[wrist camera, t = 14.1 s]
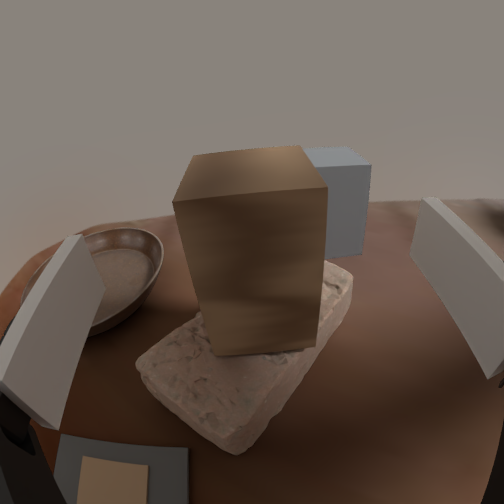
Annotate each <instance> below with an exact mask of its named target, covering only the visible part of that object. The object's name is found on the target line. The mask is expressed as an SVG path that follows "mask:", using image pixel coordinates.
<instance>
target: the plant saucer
mask: <svg viewBox="0 0 504 504" xmlns="http://www.w3.org/2000/svg"><path fill="white" fill-rule="evenodd" d="M84 240H85V242H86V245H87V247H88V249H89V252H90V254H91V256H92V259H93V261H94V263H95V265H96V268H97V270H98V272H99V274H100V277H101V279H102V281H103V283H104V285H105V287H106V290H105V292H104V295H103V297H102V299H101V302H100V304H99V307H98V309H97V312H96V314H95V317H94V320H93V322H92V325H91V327H90V330H89V333H88V336H87V337H89V336H93V335H96V334H99V333H102V332H104V331H106V330H109V329H111V328H112V327H114V326H116V325H118V324H119V323H121V322H122V321H124V320H125V319H126V318H128V317H129V316H130V315H131V314H132V313H133V312H135V311H136V310H137V309H138V308H139V307H140V305H141V304H142V303H143V302H144V301H145V299H146V298H147V296H148V295H149V293H150V292H151V290H152V288H153V286H154V284H155V282H156V280H157V277H158V275H159V272H160V269H161V266H162V262H163V256H164V250H163V246H162V243H161V241H160V240H159V239H158V237H157V236H155V235H154V234H153V233H151V232H149V231H146V230H143V229H138V228H114V229H108V230H104V231H100V232H96V233H93V234H90V235H88V236H85V237H84ZM53 256H54V254H53V255H52V256H51V257H50V258H48V259H47V260H46V261H45V262H44V263H43V264H42V265H41V266H40V267H39V268H38V269H37V270H36V271H35V273H34V274H33V275H32V277H31V278H30V280H29V281H28V283H27V285H26V287H25V289H24V291H23V294H22V298H21V306H22V304H23V303H24V301H25V299H26V298H27V296H28V294H29V293H30V291H31V289H32V288H33V286H34V285H35V283H36V281H37V280H38V278H39V277H40V275H41V274H42V272H43V271H44V269H45V268H46V266H47V265H48V263H49V262H50V260H51V259H52V257H53Z"/></svg>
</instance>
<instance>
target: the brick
mask: <svg viewBox="0 0 504 504" xmlns="http://www.w3.org/2000/svg"><path fill="white" fill-rule="evenodd" d="M352 282H353V276H352V275H351V274H350V273H349V272H347V271H346V270H344V269H343V268H340V267H338V266H337V265H335V264H332V263H329V262H327V261H326V260H324V272H323V284H322V295H321V305H320V315H319V324H318V333H317V341H316V347H312V348H304V349H295V350H286V351H277V352H266V353H255V354H241V355H226V356H215V355H214V352H213V349H212V346H211V343H210V340H209V336H208V333H207V330H206V327H205V323H204V320H203V317H202V313H201V310H200V312H198V313H197V314H196V316H195V318H194V319H191V320H190V321H188V322H186V323H185V324H183V325H182V326H181V327H178V328H176V329H175V330H173V331H172V332H171V333H170V334H168V335H167V336H165V337H164V338H163V339H162V340H161V341H159V342H158V343H157V344H155V345H154V346H153V347H151V348H150V349H149V350H148V351H147V352H145V353H144V354H143V355H141V356H140V357H139V358H138V360H137V361H136V368H137V370H138V371H139V372H140V373H141V379H142V381H143V383H144V384H145V385H146V387H147V389H148V390H149V391H150V393H151V394H152V395H153V396H154V397H155V398H156V399H158V400H159V401H160V402H161V403H162V404H163V405H164V406H165V407H166V408H167V409H169V410H170V411H171V412H173V413H174V414H176V415H177V416H178V417H179V418H180V419H181V420H183V421H184V422H185V423H187V424H188V425H189V426H190V427H191V428H192V429H193V430H195V431H196V432H197V433H199V434H200V435H201V436H203V437H204V438H205V439H207V440H209V441H211V442H212V443H214V444H216V445H217V446H218V447H219V448H221V449H222V450H224V451H227V452H229V453H231V454H233V455H239V454H241V453H243V452H245V451H246V450H247V449H248V448H249V447H251V446H252V445H253V444H254V443H255V441H256V440H257V438H258V437H259V436H260V435H261V433H262V432H263V431H264V430H265V429H266V427H267V425H268V423H269V421H270V419H271V418H272V417H273V416H275V415H277V414H278V413H279V412H280V411H281V410H282V408H283V406H284V405H285V403H286V402H287V400H288V399H289V398H290V396H291V395H292V393H293V392H294V391H295V389H296V388H297V386H298V385H299V384H300V383H301V381H302V380H303V377H304V375H305V374H306V373H307V372H308V371H309V369H310V367H311V366H312V364H313V362H314V361H315V359H316V358H317V356H318V354H319V353H320V351H321V350H322V349H323V348H324V346H325V345H326V343H327V341H328V339H329V337H330V336H331V335H332V334H333V333H334V331H335V330H336V329H337V327H338V326H339V325H340V324H341V322H342V320H343V318H344V316H345V314H346V312H347V310H348V308H349V307H350V303H351V292H352V287H353V283H352Z"/></svg>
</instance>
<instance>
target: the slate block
mask: <svg viewBox="0 0 504 504" xmlns="http://www.w3.org/2000/svg"><path fill="white" fill-rule="evenodd" d="M303 151H304V152H305V154H306V155H307V156H308V158H309V159H310V161H311V162H312V164H313V165H314V167H315V168H316V170H317V171H318V172H319V174H320V175H321V177H322V178H323V180H324V181H325V183H326V185H327V186H328V208H327V228H326V245H325V259H331V258H339V257H346V256H354V255H362V248H363V241H364V234H365V226H366V218H367V209H368V200H369V190H370V178H371V164H370V163H368V162H367V161H366V160H365V159H364V158H362V157H361V156H360V155H358V154H357V153H356V152H355V151H353V150H352V149H351V148H349V147H324V148H305V149H303Z"/></svg>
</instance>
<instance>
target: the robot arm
mask: <svg viewBox="0 0 504 504" xmlns="http://www.w3.org/2000/svg"><path fill="white" fill-rule="evenodd" d="M409 256H410V257H411V258H412V260H413V261H414V262H415V264H416V265H417V266H418V268H419V269H420V271H421V272H422V273H423V275H424V276H425V278H426V279H427V280H428V282H429V283H430V285H431V286H432V288H433V289H434V291H435V292H436V294H437V295H438V297H439V298H440V300H441V301H442V303H443V304H444V306H445V307H446V309H447V310H448V312H449V313H450V315H451V317H452V318H453V320H454V321H455V323H456V325H457V326H458V328H459V329H460V331H461V333H462V334H463V336H464V338H465V340H466V341H467V343H468V345H469V346H470V348H471V350H472V352H473V353H474V355H475V357H476V359H477V361H478V363H479V364H480V366H481V368H482V370H483V372H484V374H485V376H486V378H487V379H489V378H491V377H493V376H495V375H497V374H499V373H501V372H502V371H503V370H504V261H502V260H501V259H500V258H499V257H498V256H497V254H496V253H495V252H494V251H493V250H492V249H491V248H490V247H489V246H488V245H487V244H486V243H485V242H484V241H483V240H482V239H481V238H480V237H479V236H478V235H477V234H476V233H475V232H474V231H473V230H472V229H471V228H470V227H469V226H468V225H467V224H466V223H464V222H463V221H462V220H461V219H460V218H459V217H458V216H457V215H456V214H455V213H454V212H452V211H451V210H450V209H449V208H448V207H447V206H446V205H445V204H443V203H442V202H441V201H440V200H439V199H438V198H436V197H426V198H421V203H420V208H419V213H418V218H417V223H416V228H415V232H414V237H413V241H412V245H411V249H410V253H409ZM105 290H106V287H105V285H104V283H103V281H102V279H101V277H100V274H99V272H98V270H97V268H96V265H95V263H94V261H93V259H92V256H91V254H90V252H89V249H88V247H87V245H86V242H85V240H84V237H83V235H82V234H79V235H73V236H68V237H67V238H66V239H65V240H64V242H63V243H62V244H61V246H60V247H59V249H58V250H57V251H56V253H55V254H54V256H53V257H52V259H51V260H50V262H49V263H48V265H47V266H46V268H45V269H44V271H43V272H42V274H41V275H40V277H39V278H38V280H37V281H36V283H35V285H34V286H33V288H32V289H31V291H30V293H29V294H28V296H27V298H26V299H25V301H24V303H23V304H22V306H21V308H20V310H19V311H18V313H17V315H16V316H15V317H14V318H13V319H12V320H11V322H10V323H9V325H8V327H7V329H6V330H5V332H4V336H2V338H1V340H0V504H67V503H66V501H65V499H64V497H63V495H62V493H61V491H60V489H59V487H58V485H57V483H56V481H55V479H54V477H53V475H52V472H51V470H50V468H49V466H48V463H47V461H46V459H45V456H44V454H43V451H42V449H41V446H40V444H39V441H38V438H37V435H36V433H35V430H34V429H33V427H32V426H31V425H30V424H29V422H30V419H31V418H32V419H33V420H34V421H36V422H37V423H38V424H39V425H41V426H42V427H46V428H50V429H54V430H59V428H60V424H61V420H62V416H63V412H64V408H65V404H66V401H67V397H68V394H69V390H70V387H71V383H72V380H73V377H74V374H75V371H76V368H77V364H78V361H79V358H80V355H81V352H82V350H83V347H84V344H85V341H86V338H87V336H88V333H89V330H90V327H91V325H92V322H93V320H94V317H95V314H96V312H97V309H98V307H99V304H100V302H101V299H102V297H103V295H104V292H105ZM503 385H504V378H503V380H502V381H501V382H500V384H499V388H501V387H502V386H503ZM481 504H504V421H503V427H502V432H501V437H500V441H499V446H498V450H497V454H496V458H495V461H494V465H493V468H492V472H491V475H490V478H489V482H488V485H487V488H486V490H485V493H484V496H483V499H482V502H481Z"/></svg>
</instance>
